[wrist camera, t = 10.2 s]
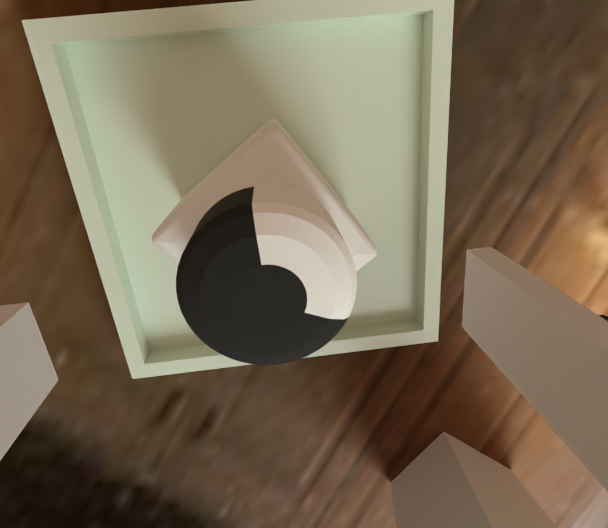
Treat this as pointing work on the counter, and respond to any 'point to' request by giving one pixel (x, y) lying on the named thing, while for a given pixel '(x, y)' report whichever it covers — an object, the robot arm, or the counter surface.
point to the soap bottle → (462, 491)
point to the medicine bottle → (265, 253)
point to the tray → (239, 127)
